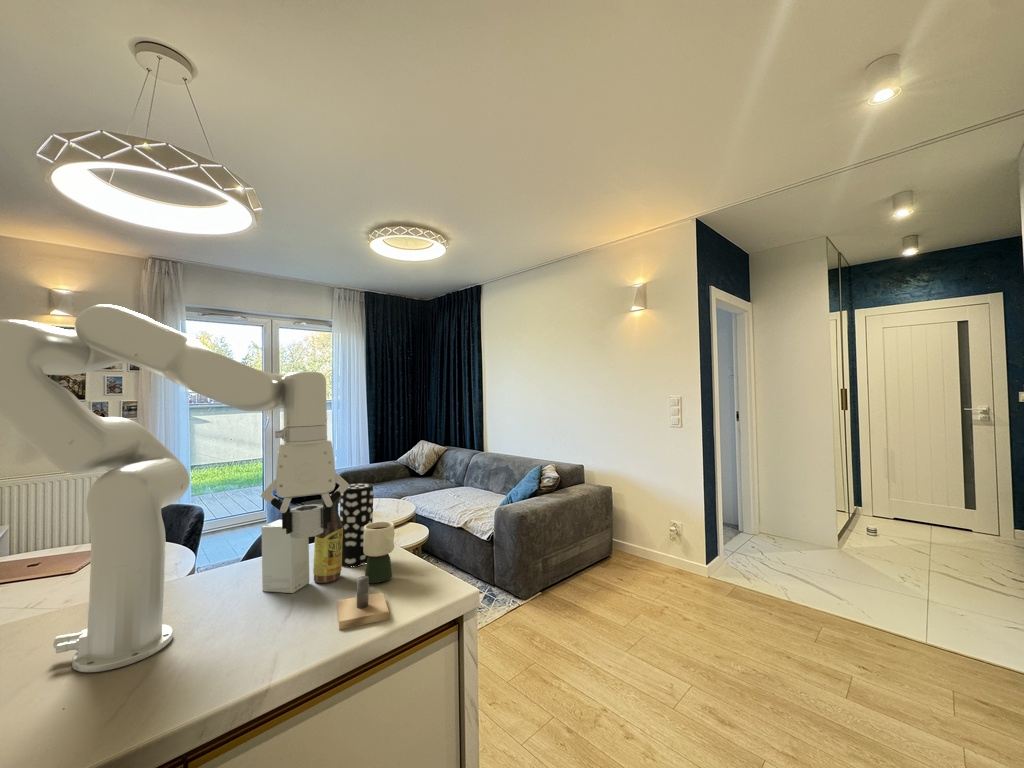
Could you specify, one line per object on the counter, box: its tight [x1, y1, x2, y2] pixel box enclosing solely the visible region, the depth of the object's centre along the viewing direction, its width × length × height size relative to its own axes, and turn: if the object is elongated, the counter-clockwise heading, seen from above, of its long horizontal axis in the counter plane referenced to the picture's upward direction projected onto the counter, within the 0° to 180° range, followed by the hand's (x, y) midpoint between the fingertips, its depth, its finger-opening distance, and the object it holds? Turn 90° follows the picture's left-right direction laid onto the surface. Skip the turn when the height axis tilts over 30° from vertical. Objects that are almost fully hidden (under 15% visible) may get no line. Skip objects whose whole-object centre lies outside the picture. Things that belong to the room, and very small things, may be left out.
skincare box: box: [260, 519, 310, 594], centre depth 95 cm, size 8×6×15 cm
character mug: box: [363, 521, 396, 584], centre depth 99 cm, size 11×7×13 cm, turn 51°
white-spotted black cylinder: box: [339, 482, 374, 568], centre depth 111 cm, size 8×8×20 cm
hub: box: [290, 503, 323, 539], centre depth 80 cm, size 6×6×5 cm
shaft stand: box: [336, 575, 390, 631], centre depth 83 cm, size 9×9×7 cm
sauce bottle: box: [313, 493, 343, 584], centre depth 100 cm, size 6×6×20 cm
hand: (307, 528), depth 80 cm, fingers closed on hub, 5 cm apart
